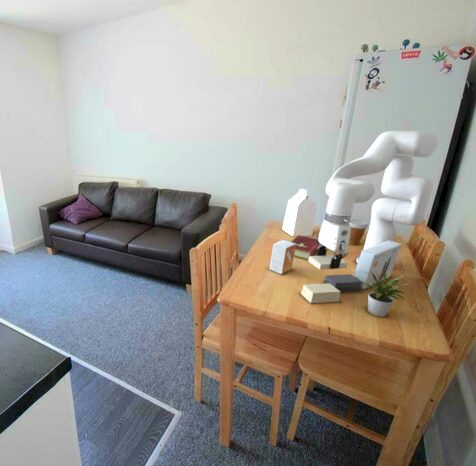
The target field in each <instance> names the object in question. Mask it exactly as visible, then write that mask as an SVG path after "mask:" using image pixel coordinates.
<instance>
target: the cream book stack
mask: <svg viewBox="0 0 476 466" xmlns="http://www.w3.org/2000/svg"><path fill="white" fill-rule="evenodd" d="M300 295H301V296H302V297H303V298H304V299H306V300H307V302H309V303H310V304H319V303H337V302H340V298H341V296H340V295H341V292H340V291H339V290H338V289H336V288H335V287H334V286H333V285H331V284H330V283H326V284H323V283H311V284H310V283H309V284H303V286H302V289H301V292H300Z"/></svg>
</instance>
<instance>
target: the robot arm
mask: <svg viewBox="0 0 476 466" xmlns="http://www.w3.org/2000/svg"><path fill="white" fill-rule="evenodd" d="M438 146H439V137H438V136H437V135H436V134H435V133H431V132H427V131H421V130H388V131H384V132H382V133H380V134H379V135H378V136H377V138H376V139H375V140H374V142H373V143H372V144H371V145H370V147H369V148H368V149H367V151H366V152H365V154H364V155H362V156H361V157H359V158H356V159H354V160H352V161H350V162H347V163H345V164H343V165H342V166H340V167H339V168H338V169H336V170H335V172H334V173H333V174H332V176H331V177H330V178H329V180H328V182H327V183H326V186H325V194H326V195H327V196H328V200H327V205H326V211H325V215H324V219H323V221H322V224H321V227H320V230H319V234H317V235H316V236H315V239H317V244H318V246H317V248H318V250H317V251H316V256H325V255H327V253H328V250H330V251H332V255H333V258H332V259H331V263H330V268H331V269H330V270H335V269H334V268H339V266H340V262H341V259H342V260H344V258H345V257H347V256H348V255H349V254H350V251H349V250H348V249H349V245H350V244H349V240H350V232H351V227H350V225H349V223H350V220H352V219H351V218H352V215H353V214H352V213H353V211H354V206H355V204H361V203H366V202H368V201H369V200H371V199H372V198H373V197H374V195H375V192H376V188H375V185H374V184H373V183H372V182H370V181H366V180H359V179H355V178H356V177H362V176H363V177H364V176H369V175H373V174H378V173H382V172H384V174H383V177H382V182H381V187H380V191H381V193H382V194H383V195H384V196H387V197H382V198H381V197H380V198H378V199H376V200H375V201H374V202H373V203H372V206H371V213H370V214H371V215H370V223H369V226H368V231H367V234H366V238H365V241H364V245H363V249H362V250H364V249H367V248H370V247H372V246H375V245H378V244H380V243H383V242H385V241H388V240H390V241H393V242H395V241H394V240H395V238H396V234H397V228H396V226H395V224H394V223H397V224H402V225H407V226H419V225H420V224H421V223H422V222H423V220H424V218H425V216H426V213H427V210H428V206H429V203H430V199H431V196H432V193H433V188H434V182H433V180H432V179H431V178H430V177H427V176H420V175H413V174H412V172H413V169H414V164H415V161H414V159H413V158H421V159H422V158H423V159H424V158H429V157H431V156H432V155H433V154H434V153H435V152H436V150H437V149H438ZM352 178H354V179H352ZM391 197H392V198H391ZM396 198H399V199H396ZM402 199H404V200H402ZM408 200H410V201H408ZM337 253H338V254H337ZM359 258H360V256H358V257H357V258H356V260H355V262H356V263H357V264H358V261H359ZM397 261H398V258H397V259H396V262H397Z"/></svg>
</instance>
